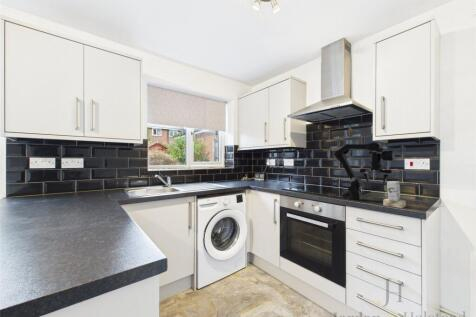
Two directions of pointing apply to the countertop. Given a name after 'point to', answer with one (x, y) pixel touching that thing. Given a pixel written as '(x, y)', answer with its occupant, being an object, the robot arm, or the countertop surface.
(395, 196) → the ink box
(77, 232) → the countertop surface
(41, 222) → the countertop surface
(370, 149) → the robot arm
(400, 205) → the birch block
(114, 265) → the countertop surface
